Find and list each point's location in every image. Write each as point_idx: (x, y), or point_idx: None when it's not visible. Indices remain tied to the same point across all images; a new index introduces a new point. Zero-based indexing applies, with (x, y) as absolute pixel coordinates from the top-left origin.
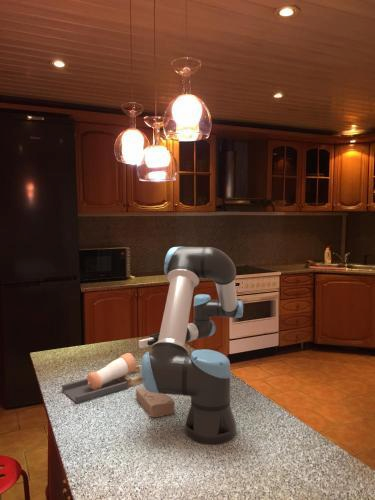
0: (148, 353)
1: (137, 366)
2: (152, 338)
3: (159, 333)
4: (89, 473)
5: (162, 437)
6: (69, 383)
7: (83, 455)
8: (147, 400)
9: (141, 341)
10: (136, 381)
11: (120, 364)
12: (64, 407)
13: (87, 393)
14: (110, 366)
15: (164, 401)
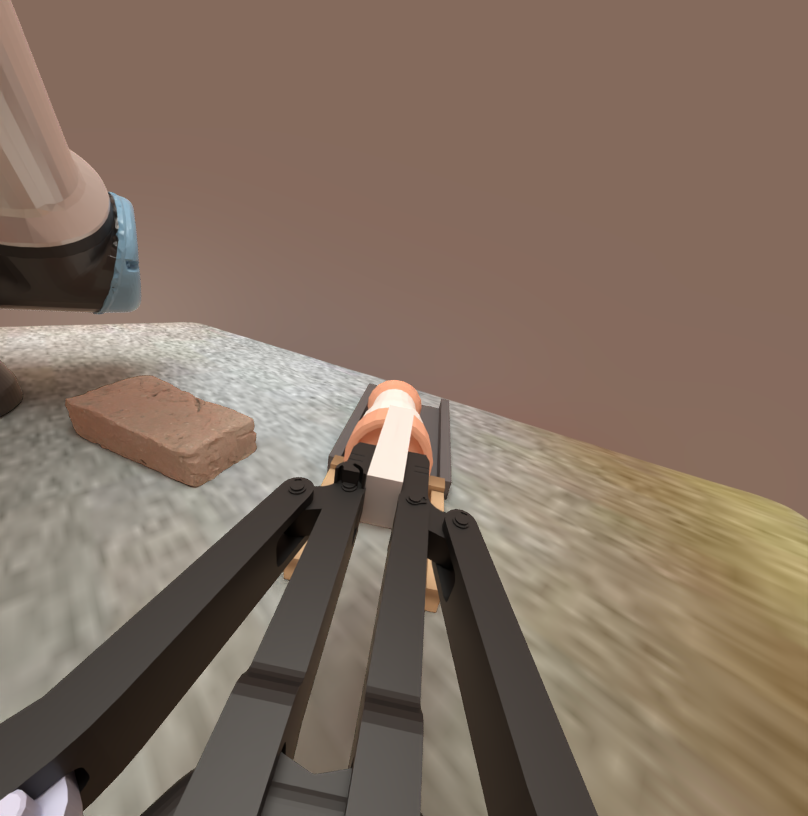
0: (108, 192)
1: (430, 577)
2: (373, 465)
3: (493, 668)
4: (202, 333)
5: (97, 376)
6: (447, 407)
7: (234, 343)
8: (174, 388)
9: (388, 410)
10: None
11: (371, 408)
12: None
13: (367, 394)
14: (388, 398)
15: (107, 392)
